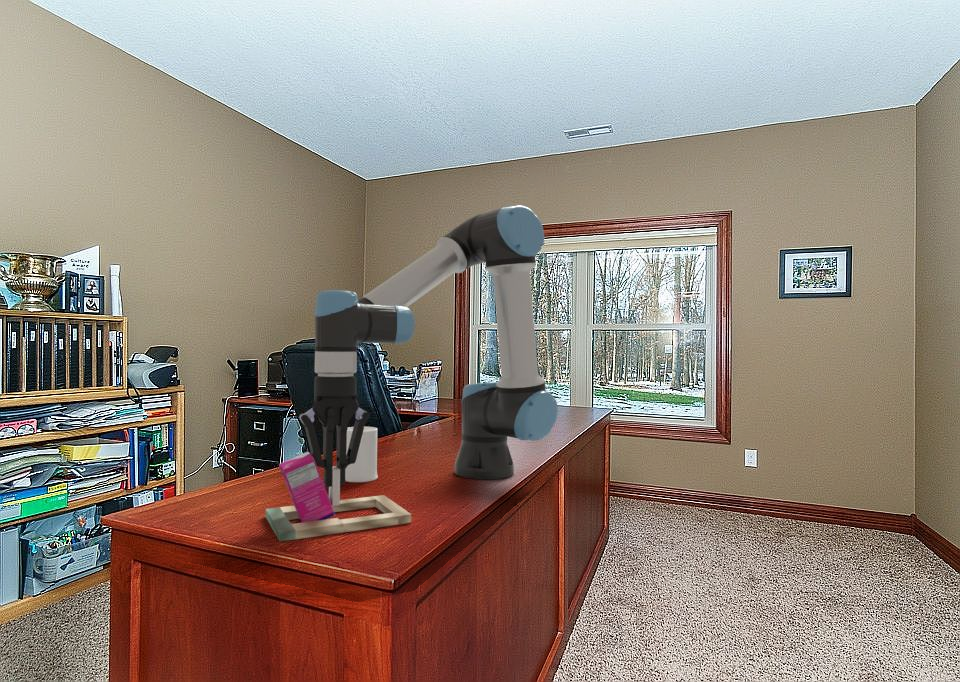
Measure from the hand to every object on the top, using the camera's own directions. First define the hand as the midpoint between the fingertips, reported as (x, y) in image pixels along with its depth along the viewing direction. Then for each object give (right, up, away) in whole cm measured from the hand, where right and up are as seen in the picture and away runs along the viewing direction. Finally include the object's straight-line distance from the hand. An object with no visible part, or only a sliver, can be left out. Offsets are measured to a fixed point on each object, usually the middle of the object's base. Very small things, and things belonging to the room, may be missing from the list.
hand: (334, 503), depth 105 cm
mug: (-2, -4, +35) cm, 35 cm away
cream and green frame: (+1, -3, +1) cm, 3 cm away
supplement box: (-3, -2, -1) cm, 4 cm away
